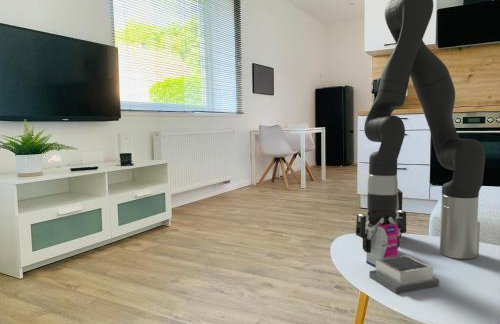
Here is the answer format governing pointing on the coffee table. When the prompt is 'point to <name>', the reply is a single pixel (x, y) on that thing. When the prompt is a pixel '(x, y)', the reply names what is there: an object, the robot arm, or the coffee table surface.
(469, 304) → the coffee table surface
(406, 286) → the square tray
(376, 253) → the supplement box
